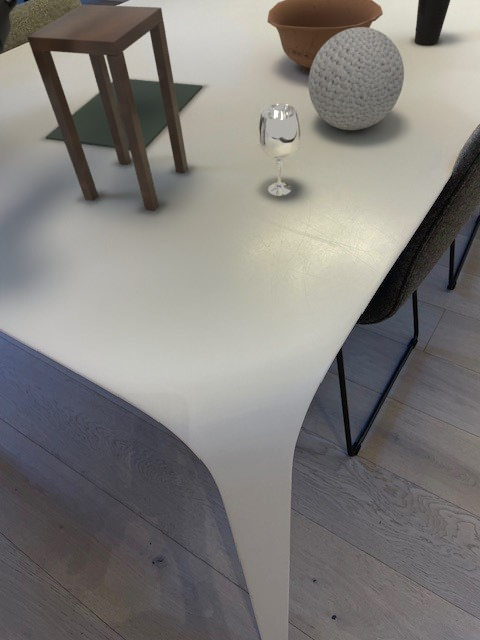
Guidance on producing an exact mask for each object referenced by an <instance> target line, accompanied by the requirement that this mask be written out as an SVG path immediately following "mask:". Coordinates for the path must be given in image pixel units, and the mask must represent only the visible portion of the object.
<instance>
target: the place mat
mask: <svg viewBox="0 0 480 640" xmlns="http://www.w3.org/2000/svg"><path fill="white" fill-rule="evenodd" d="M129 79H130V83H131V87H132V92H133V96H134V100H135V105H136V109H137V114H138V118H139V122H140V127H141V131H142V135H143V140H144V144H145V148H146V149H147V148H148V146H150V144H151V143H152V142H153V141H154V140H155V139H156V138H157V137H158V136H159V135H160V134H161V133H162V132H163V131H164V130H165V129H166V127H168V126H167V121H166V116H165V110H164V105H163V100H162V94H161V89H160V84H159V81H154V80H141V79H132V78H129ZM111 84H112V88H113V92H114V96H115V100H116V104H117V107H118V111H119V115H120V119H121V123H122V127H123V131H124V135H125V138H126V142H127V146H128V150H129V151H130V147H129V143H128V139H127V135H126V131H125V127H124V124H123V120H122V116H121V112H120V108H119V104H118V100H117V96H116V92H115V88H114V84H113V81H111ZM174 87H175V93H176V99H177V105H178V111H179V113H180V112H181V111H182V110H183V109H184V108H185V107H186V106H187V104H188V103H190V102H191V101H192V100H193V98H194V97H195V96H196V95H197V94H198V93H199V92H200V91H201V90H202V89H203V85H201V84H189V83H178V82H174ZM71 115H72V118H73V121H74V124H75V127H76V130H77V133H78V136H79V139H80V142H81V145H90V146H97V147H105V148H112V149H115V147H114V143H113V139H112V136H111V132H110V129H109V125H108V122H107V118H106V114H105V111H104V107H103V104H102V100H101V97H100V93H99V92H98V93H97V94H96V95H94V96H93V97H92V98H91V99H90V100H89V101H87V102H86V103H85V104H83V105H82V106H81V107H80V108H79V109H77V110H76V111H75V112H74V113H73V114H71ZM45 139H46V140H52V141H59V142H60V141H61V142H64V139H63V136H62V134H61V131H60V128H59V125H58V126H57V127H56V128H54V129H53V130H52V131H51V132H49V134H47V135H46V136H45Z"/></svg>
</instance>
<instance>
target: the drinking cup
mask: <svg viewBox="0 0 480 640" xmlns="http://www.w3.org/2000/svg"><path fill="white" fill-rule="evenodd" d="M450 4H451V0H418V3H417V12H416V22H415V23H416V24H415V33H414V34H415V35H414V43H415V44H416V45H417V46H421V47H422V46H424V47H431V46H435V45H437V44H438V43H439V40H440V36H441V33H442V30H443V26H444V23H445V20H446V17H447V14H448V9H449V5H450Z"/></svg>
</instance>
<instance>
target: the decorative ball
mask: <svg viewBox="0 0 480 640" xmlns="http://www.w3.org/2000/svg"><path fill="white" fill-rule="evenodd" d="M404 67H405V66H404V62H403V58H402V55H401V53H400V50H399V48H398V47H397V46H396V44H395V43H394V41H393V40H392V39H391V38H390V37H389V36H388V35H386V34H385V33H383V32H381V31H380V30H377V29H374V28H371V27H370V28H367V27H356V28H350V29H347V30H344V31H342V32H340V33H338V34H336V35H335V36H333V37H332V38H330V39H329V40H328V41H327V42H326V43H325V44H324V45H323V46H322V47H321V49H320V50H319V51H318V53H317V55H316V57H315V59H314V61H313V64H312V66H311V70H310V74H308V93H309V97H310V101H311V104H312V106H313V108H314V110H315V112H316V113H317V114H318V115H319V117H320V118H321V119H322V120H324V122H326V123H327V124H329V125H330V126H332V127H334V128H336V129H339V130H343V131H360V130H364V129H367V128H370V127H372V126H374V125H375V124H378V123H379V122H380V121H382V120H384V119H385V118H386V117H387V116H388V115H389V113H390V112H392V110H393V108H394V107H395V106H396V104H397V102H398V100H399V98H400V95H401V93H402V89H403V86H404V81H405V80H404V79H405V68H404Z"/></svg>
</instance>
